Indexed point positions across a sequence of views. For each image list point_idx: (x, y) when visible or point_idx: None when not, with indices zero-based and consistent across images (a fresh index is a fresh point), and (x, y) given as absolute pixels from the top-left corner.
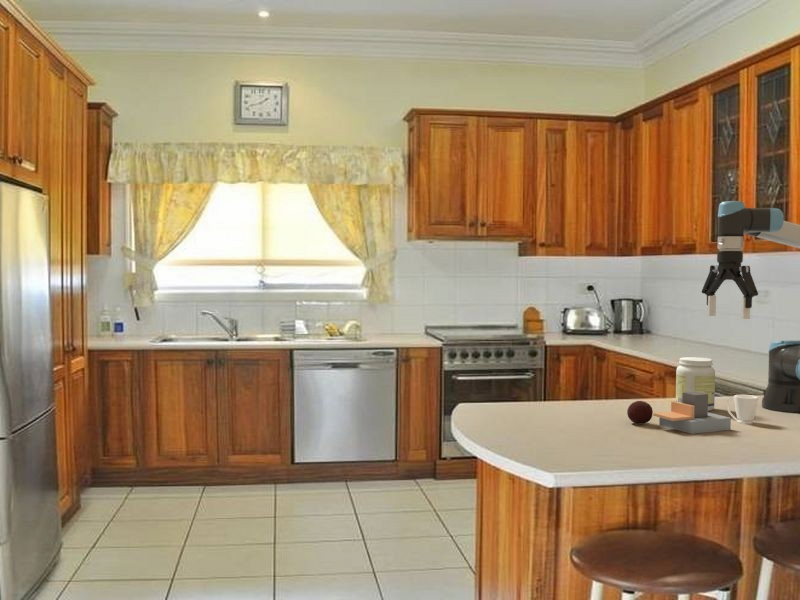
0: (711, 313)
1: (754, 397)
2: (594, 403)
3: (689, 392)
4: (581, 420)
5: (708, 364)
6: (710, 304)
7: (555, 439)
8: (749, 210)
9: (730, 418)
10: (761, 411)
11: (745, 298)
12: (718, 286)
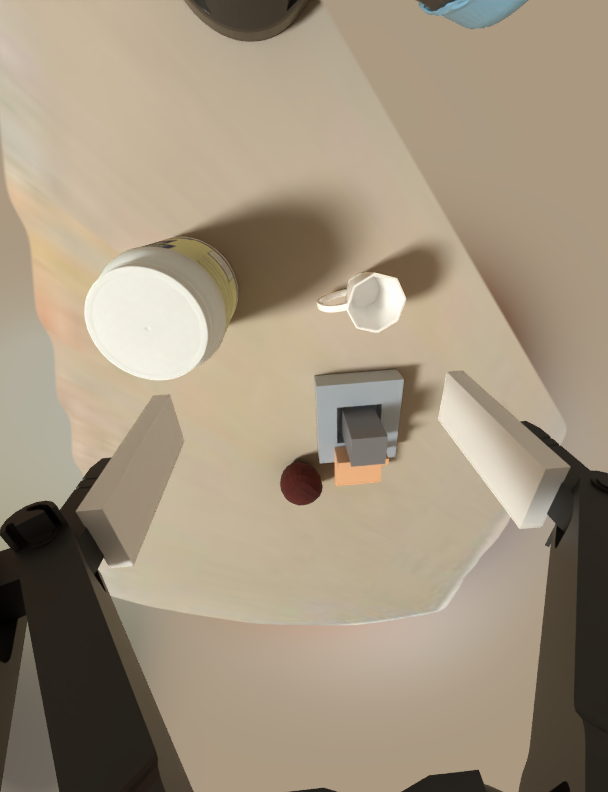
0: (175, 436)
1: (382, 277)
2: (104, 448)
3: (357, 456)
4: (251, 522)
5: (209, 316)
6: (157, 492)
7: (339, 577)
8: None
9: (403, 379)
10: (265, 107)
11: (543, 509)
12: (120, 644)
